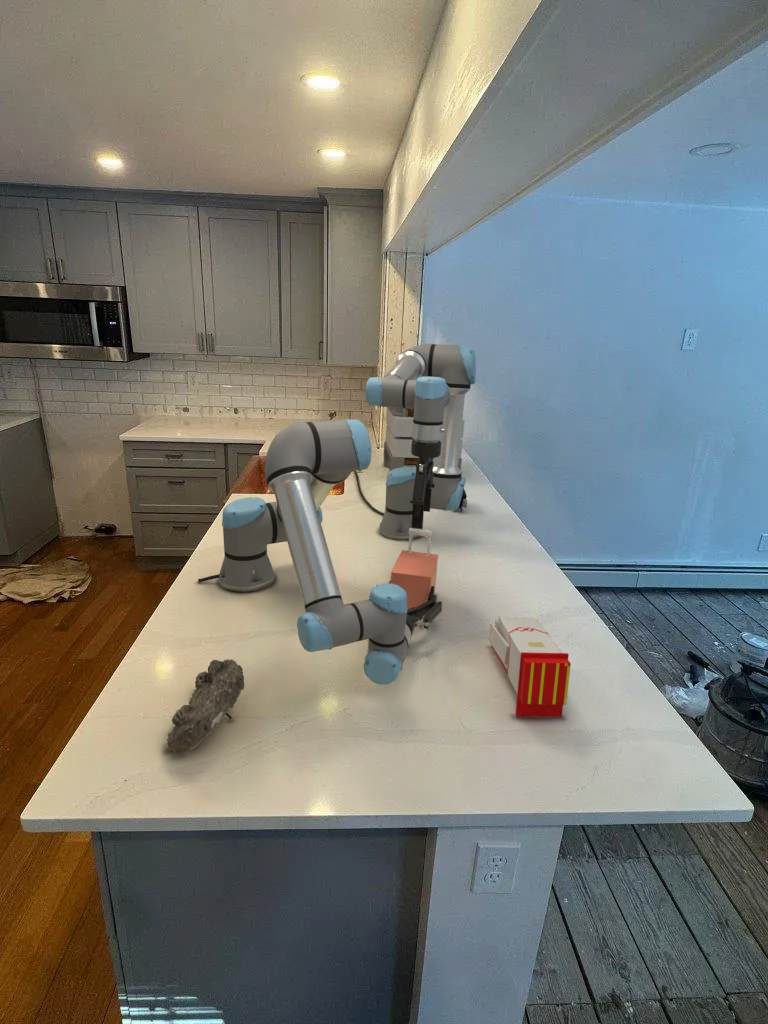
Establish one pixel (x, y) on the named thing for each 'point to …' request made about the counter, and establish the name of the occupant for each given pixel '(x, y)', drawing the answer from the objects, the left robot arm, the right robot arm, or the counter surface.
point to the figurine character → (463, 501)
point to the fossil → (206, 705)
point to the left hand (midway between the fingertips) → (411, 588)
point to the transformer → (403, 439)
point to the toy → (531, 665)
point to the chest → (415, 588)
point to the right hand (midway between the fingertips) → (421, 519)
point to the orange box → (416, 559)
